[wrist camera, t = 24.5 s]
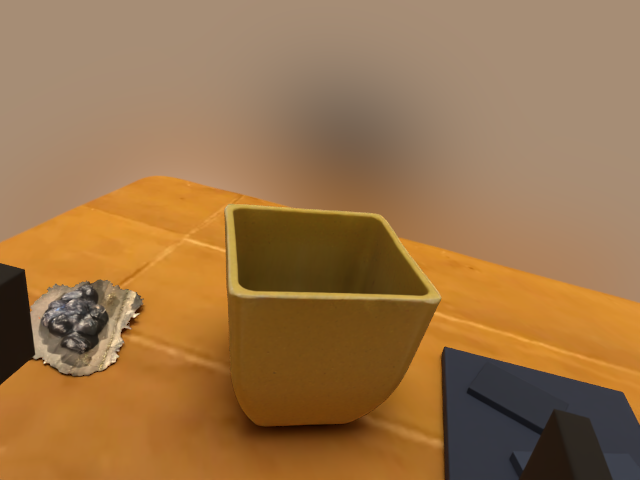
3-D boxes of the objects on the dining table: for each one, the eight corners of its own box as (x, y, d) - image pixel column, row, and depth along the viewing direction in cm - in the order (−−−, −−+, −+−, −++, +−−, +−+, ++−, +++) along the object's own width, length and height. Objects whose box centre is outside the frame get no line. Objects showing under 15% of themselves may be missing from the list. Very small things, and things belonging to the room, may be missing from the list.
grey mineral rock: (139, 285, 33) (138, 261, 32) (160, 364, 27) (160, 336, 26) (22, 297, 30) (18, 270, 29) (15, 388, 24) (10, 358, 23)
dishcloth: (618, 400, 31) (627, 384, 30) (732, 636, 19) (750, 618, 18) (441, 354, 32) (446, 339, 31) (446, 550, 20) (455, 530, 20)
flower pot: (213, 337, 30) (224, 199, 26) (352, 338, 32) (382, 211, 28) (213, 463, 22) (229, 294, 18) (396, 454, 24) (446, 300, 20)
